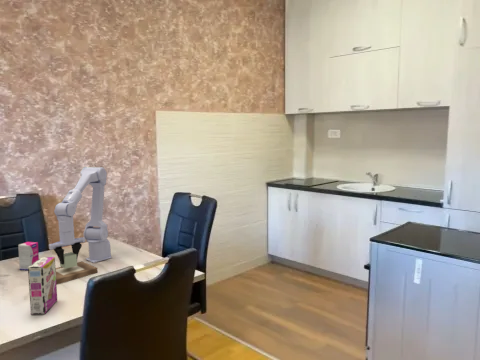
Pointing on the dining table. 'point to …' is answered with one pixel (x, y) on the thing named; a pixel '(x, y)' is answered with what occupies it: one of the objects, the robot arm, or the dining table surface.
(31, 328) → the dining table surface
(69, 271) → the base board
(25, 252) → the supplement box
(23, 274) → the dining table surface
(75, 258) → the sage cube
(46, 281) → the candy bar box
